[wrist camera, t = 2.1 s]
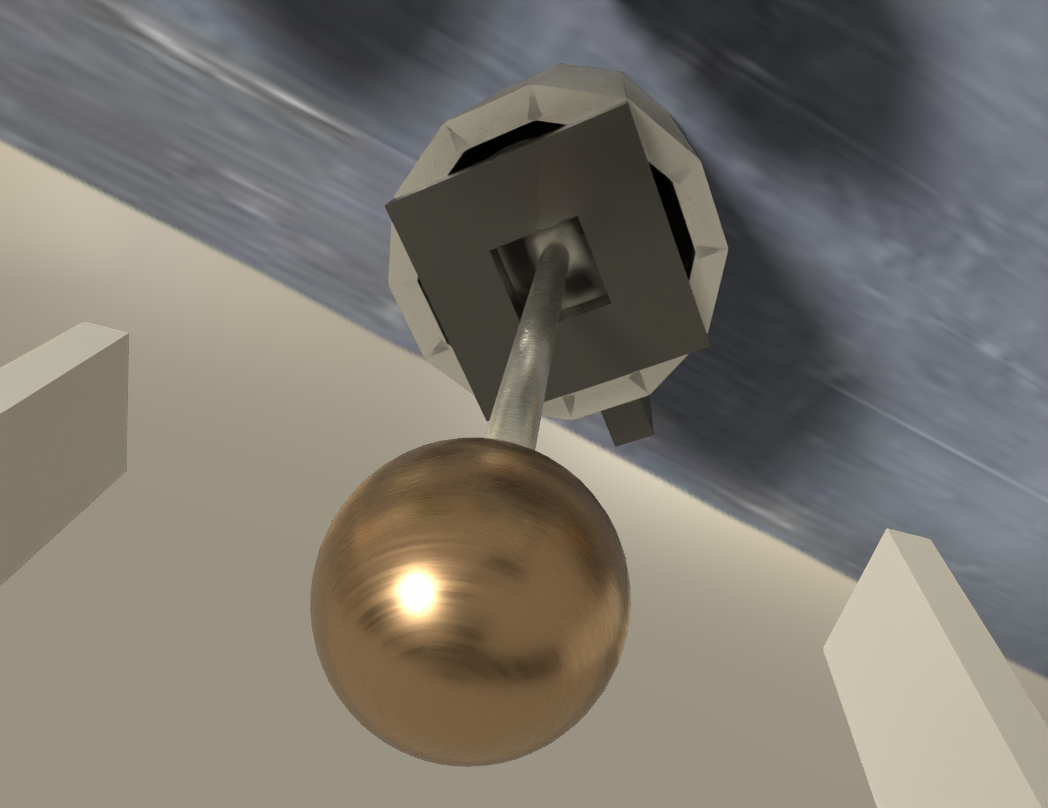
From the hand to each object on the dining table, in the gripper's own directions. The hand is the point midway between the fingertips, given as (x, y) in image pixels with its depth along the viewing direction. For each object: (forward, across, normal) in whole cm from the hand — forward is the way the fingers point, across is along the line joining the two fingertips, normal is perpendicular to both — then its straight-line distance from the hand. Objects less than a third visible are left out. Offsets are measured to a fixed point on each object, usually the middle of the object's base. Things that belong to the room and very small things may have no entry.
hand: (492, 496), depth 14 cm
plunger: (+16, 0, 0) cm, 16 cm away
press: (+30, +1, -1) cm, 30 cm away
